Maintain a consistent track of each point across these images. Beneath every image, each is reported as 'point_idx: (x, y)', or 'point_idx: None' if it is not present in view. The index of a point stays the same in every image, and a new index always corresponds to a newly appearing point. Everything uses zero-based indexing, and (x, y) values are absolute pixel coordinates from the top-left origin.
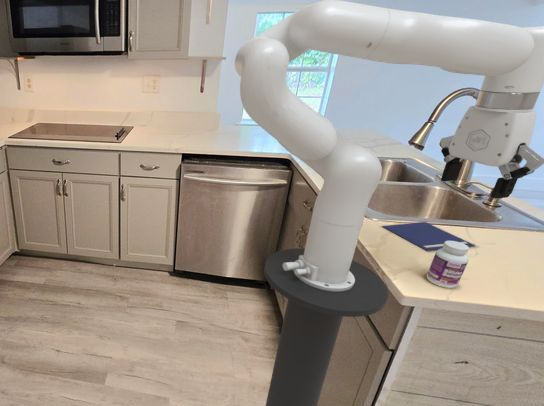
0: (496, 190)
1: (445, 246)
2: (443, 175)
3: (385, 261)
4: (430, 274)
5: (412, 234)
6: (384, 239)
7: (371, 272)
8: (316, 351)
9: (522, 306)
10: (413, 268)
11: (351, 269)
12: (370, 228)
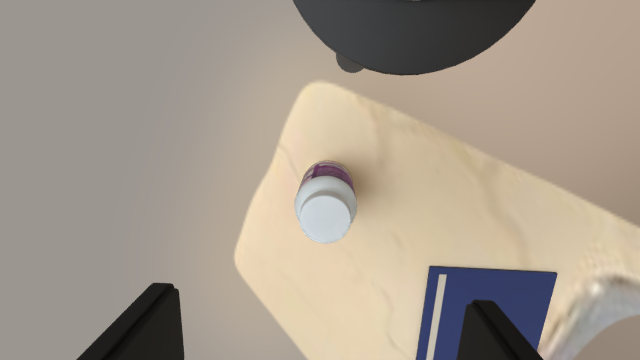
0: (127, 313)
1: (333, 194)
2: (504, 323)
3: (423, 140)
4: (335, 165)
5: (496, 299)
6: (505, 224)
7: (395, 67)
8: None
9: (237, 246)
10: (382, 175)
11: (420, 26)
12: (562, 239)
